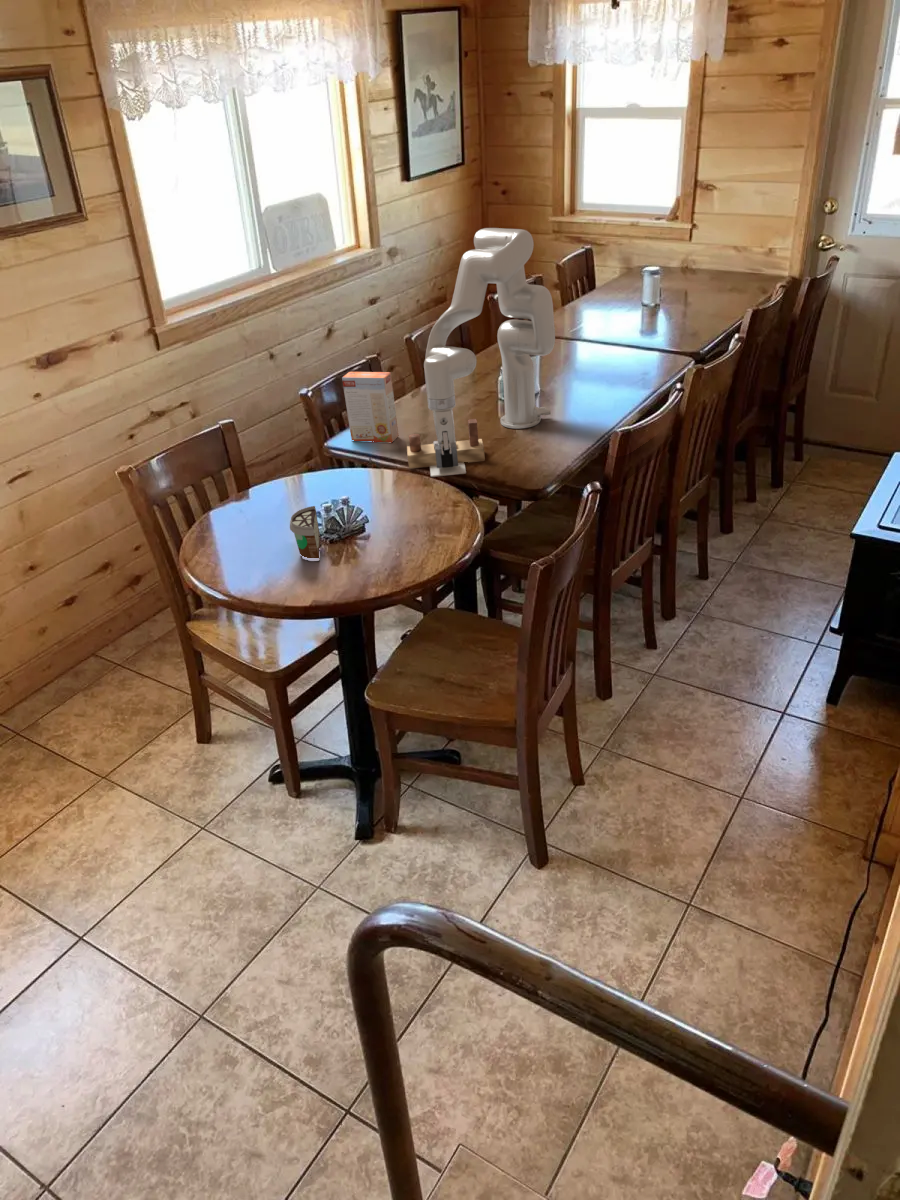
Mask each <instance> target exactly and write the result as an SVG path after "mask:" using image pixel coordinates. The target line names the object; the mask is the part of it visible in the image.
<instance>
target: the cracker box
mask: <svg viewBox="0 0 900 1200" xmlns="http://www.w3.org/2000/svg"><path fill="white" fill-rule="evenodd" d="M341 379H342V380H341V381H342V385H343V386H342V387H343V393H344V398H345V399H344V400H345V405H346V413H347V419H348V426H349V432H350V439H351V441H352V440H354V441H372V442H371V443H377V442H391V443H390V444H393V443H394V442H393V441H394V440H395V439H396V438H397V437H398V436H399V429H398V428H399V427H398V420H397V419H398V418H397V413H396V404H395V398H394V397H395V396H394V395H395V394H394V389H393V388H394V387H393V380H392V372H389V371H387V372H386V371H384V372H383V371H373V372H372V371H349V372H347V373H346V374H344V375H343V376H342V377H341ZM398 438H399V437H398ZM398 438H397V439H398ZM397 439H396V440H397ZM396 440H395V441H396ZM373 441H374V442H373ZM392 442H393V443H392Z"/></svg>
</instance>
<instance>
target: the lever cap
mask: <svg viewBox="0 0 900 1200" xmlns="http://www.w3.org/2000/svg"><path fill="white" fill-rule="evenodd" d="M442 443H444V442H442ZM448 443H449V442H448ZM450 443H451V442H450ZM448 447H449V446H448ZM443 448H444V446H443ZM451 453H452V455H453V466H458V458H457V447H456V443H455V444H451ZM435 454H436V464H437V468H443V467H442V461H441V454H442V451H441V446H440V445H439V444H435Z"/></svg>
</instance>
